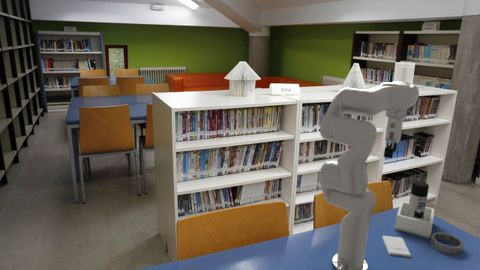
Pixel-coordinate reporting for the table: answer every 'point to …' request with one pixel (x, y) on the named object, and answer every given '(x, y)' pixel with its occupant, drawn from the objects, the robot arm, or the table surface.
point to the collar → (446, 248)
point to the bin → (414, 221)
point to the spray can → (418, 200)
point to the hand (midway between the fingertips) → (389, 154)
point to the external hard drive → (396, 246)
